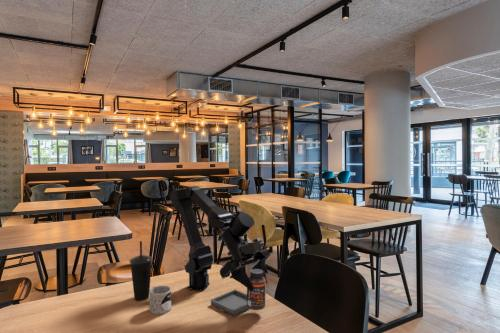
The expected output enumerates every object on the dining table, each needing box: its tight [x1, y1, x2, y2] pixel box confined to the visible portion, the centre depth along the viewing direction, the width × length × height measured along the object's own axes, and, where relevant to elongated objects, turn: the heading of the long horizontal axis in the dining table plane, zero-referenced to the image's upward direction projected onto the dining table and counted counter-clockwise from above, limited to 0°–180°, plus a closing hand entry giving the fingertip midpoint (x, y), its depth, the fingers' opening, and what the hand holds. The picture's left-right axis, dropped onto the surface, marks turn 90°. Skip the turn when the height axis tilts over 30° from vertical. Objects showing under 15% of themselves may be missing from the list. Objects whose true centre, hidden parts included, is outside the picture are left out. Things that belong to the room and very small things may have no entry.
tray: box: [210, 288, 251, 318], centre depth 106 cm, size 11×11×2 cm
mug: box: [149, 285, 172, 316], centre depth 104 cm, size 10×7×7 cm
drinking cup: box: [129, 240, 153, 302], centre depth 111 cm, size 8×8×20 cm
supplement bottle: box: [246, 269, 267, 311], centre depth 100 cm, size 6×6×11 cm
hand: (259, 286), depth 99 cm, fingers closed on supplement bottle, 6 cm apart
